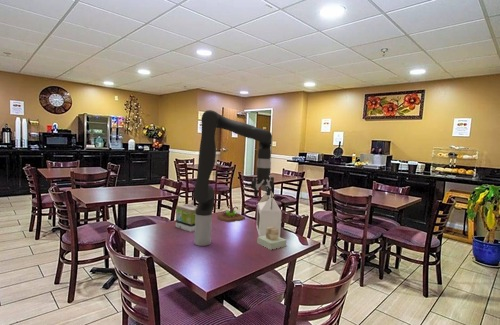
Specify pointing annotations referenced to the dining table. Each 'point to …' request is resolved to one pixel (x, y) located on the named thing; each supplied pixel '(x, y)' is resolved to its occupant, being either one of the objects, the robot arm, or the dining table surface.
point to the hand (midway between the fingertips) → (262, 195)
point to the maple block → (272, 233)
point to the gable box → (268, 215)
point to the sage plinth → (271, 242)
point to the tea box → (186, 217)
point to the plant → (230, 215)
